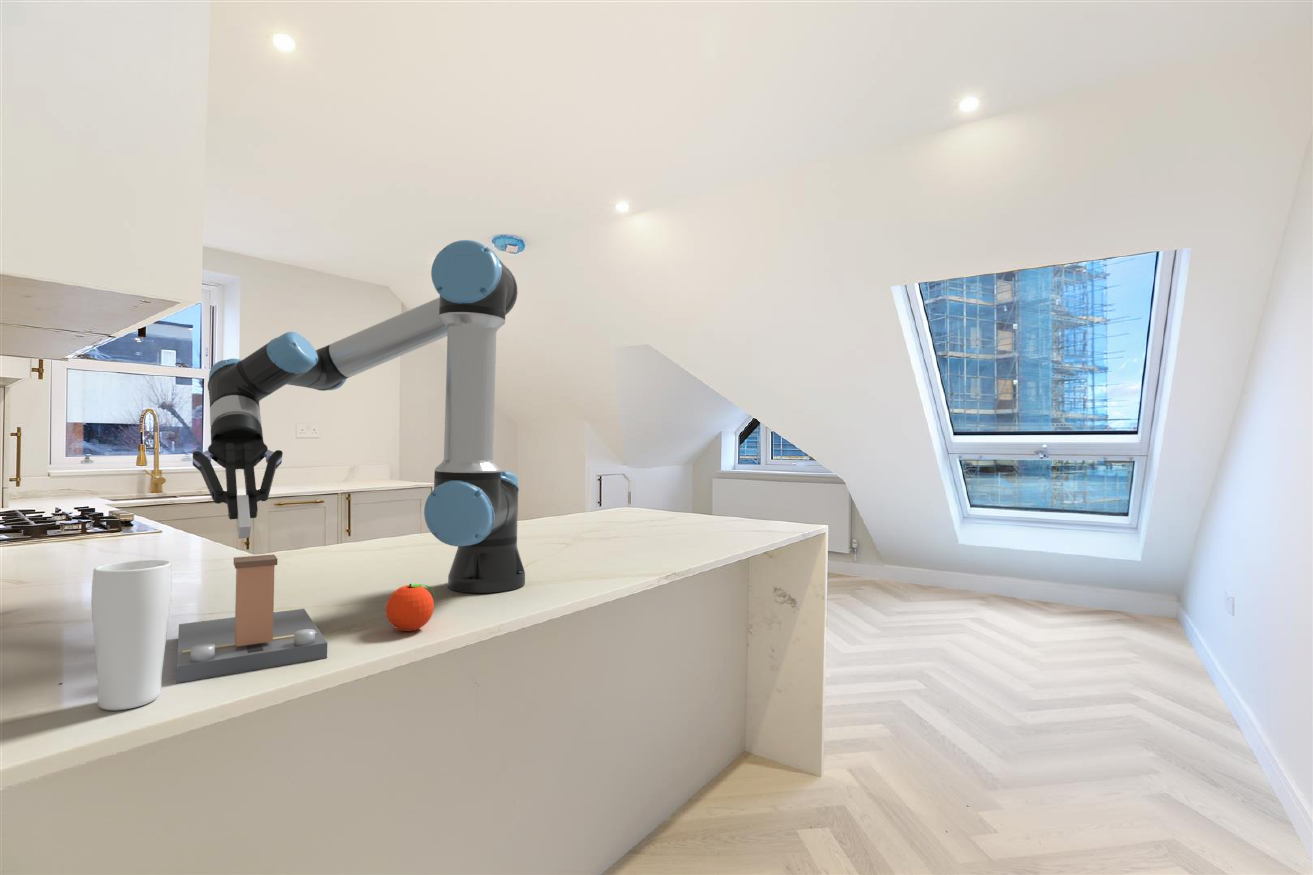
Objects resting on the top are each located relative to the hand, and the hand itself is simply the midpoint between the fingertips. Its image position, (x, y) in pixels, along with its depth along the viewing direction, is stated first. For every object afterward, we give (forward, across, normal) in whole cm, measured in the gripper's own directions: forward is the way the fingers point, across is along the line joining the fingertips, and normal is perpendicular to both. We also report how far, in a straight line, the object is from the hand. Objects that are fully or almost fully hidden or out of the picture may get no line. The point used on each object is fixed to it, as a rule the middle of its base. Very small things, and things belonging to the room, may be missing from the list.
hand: (244, 532), depth 98 cm
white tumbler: (+29, +12, +8) cm, 32 cm away
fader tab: (+21, 0, +3) cm, 21 cm away
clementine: (+22, -21, 0) cm, 30 cm away
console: (+19, 0, -2) cm, 19 cm away
